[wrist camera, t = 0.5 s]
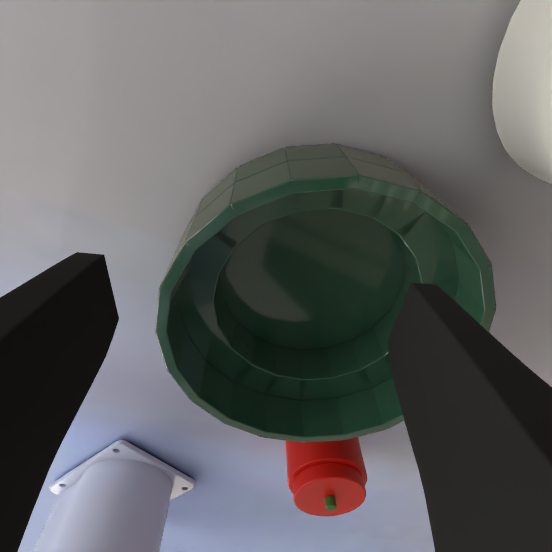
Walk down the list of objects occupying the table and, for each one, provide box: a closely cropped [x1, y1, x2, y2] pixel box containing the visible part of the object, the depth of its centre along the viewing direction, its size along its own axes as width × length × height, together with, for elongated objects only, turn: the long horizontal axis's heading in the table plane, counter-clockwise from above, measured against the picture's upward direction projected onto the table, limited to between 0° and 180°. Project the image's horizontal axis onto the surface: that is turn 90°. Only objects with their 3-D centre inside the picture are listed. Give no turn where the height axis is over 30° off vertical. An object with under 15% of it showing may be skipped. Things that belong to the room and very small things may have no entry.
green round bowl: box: [155, 143, 496, 443], centre depth 19 cm, size 15×15×6 cm
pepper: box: [286, 437, 367, 516], centre depth 25 cm, size 5×5×6 cm
